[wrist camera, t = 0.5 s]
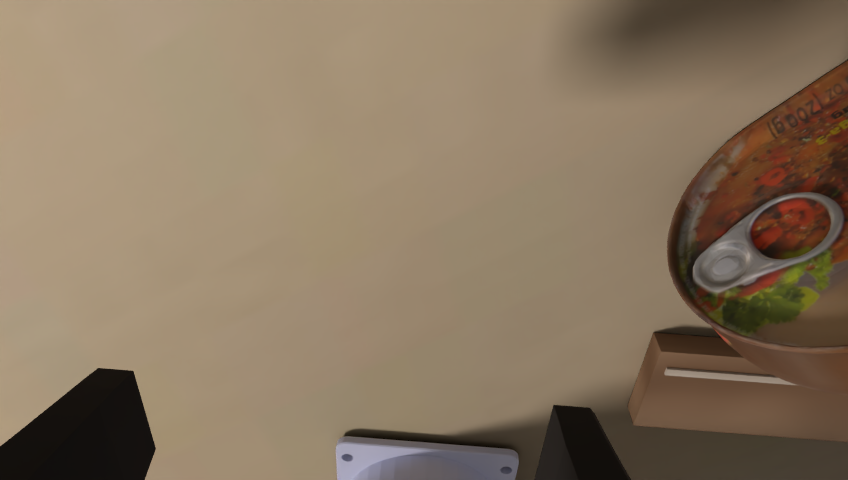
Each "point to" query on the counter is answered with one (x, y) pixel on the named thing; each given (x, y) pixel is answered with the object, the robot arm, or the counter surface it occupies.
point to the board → (728, 394)
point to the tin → (775, 239)
